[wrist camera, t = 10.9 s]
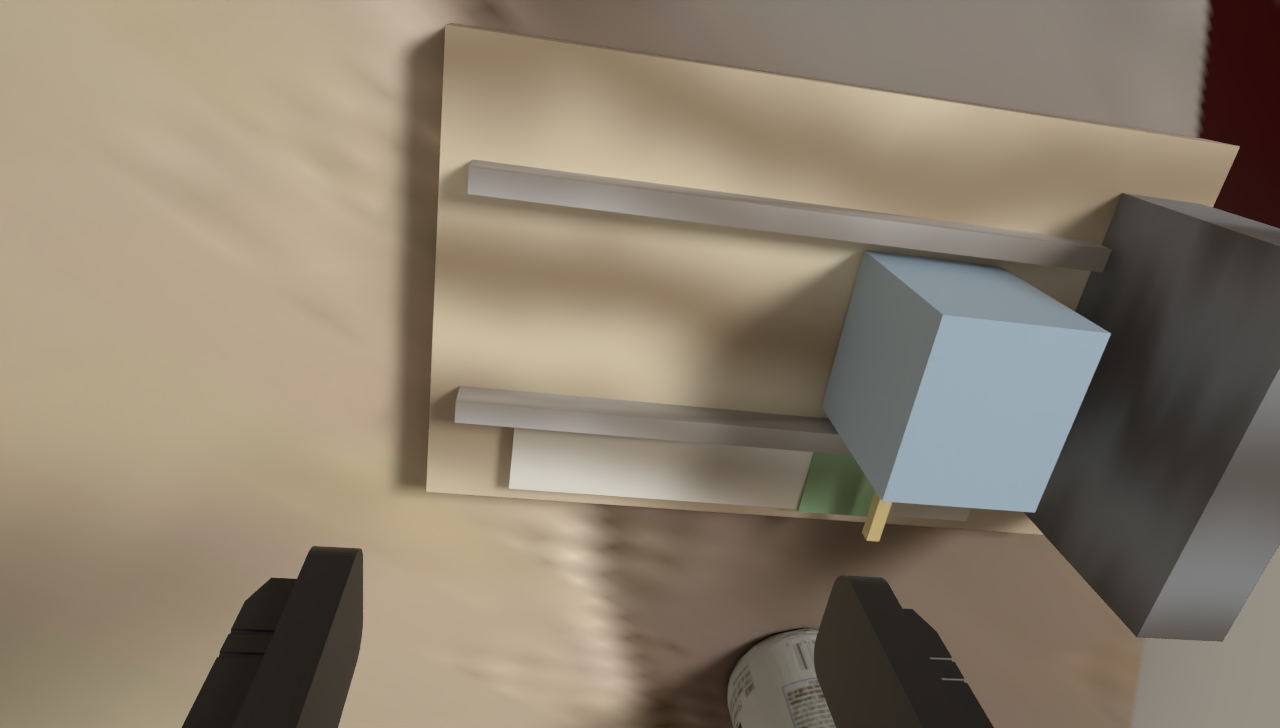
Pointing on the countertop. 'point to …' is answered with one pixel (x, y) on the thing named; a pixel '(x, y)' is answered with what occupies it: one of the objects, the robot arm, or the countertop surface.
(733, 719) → the spray can
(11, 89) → the countertop surface
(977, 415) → the gauge slider
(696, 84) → the base
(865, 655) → the robot arm
